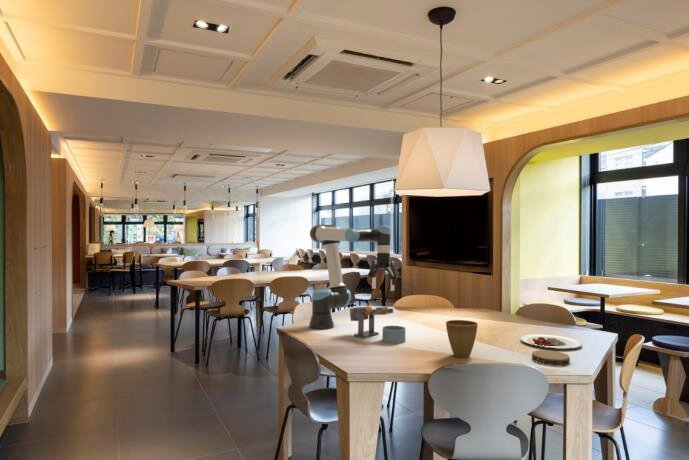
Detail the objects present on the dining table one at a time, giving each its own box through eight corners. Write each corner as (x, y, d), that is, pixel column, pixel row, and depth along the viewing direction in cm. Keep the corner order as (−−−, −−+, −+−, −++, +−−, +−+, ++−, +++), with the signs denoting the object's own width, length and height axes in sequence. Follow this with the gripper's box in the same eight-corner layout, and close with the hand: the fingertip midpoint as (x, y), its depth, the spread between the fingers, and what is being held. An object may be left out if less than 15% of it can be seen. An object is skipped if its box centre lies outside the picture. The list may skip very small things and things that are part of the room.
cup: (378, 341, 247) (378, 328, 247) (391, 337, 256) (391, 324, 256) (397, 344, 239) (397, 331, 239) (409, 340, 248) (409, 327, 248)
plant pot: (482, 355, 219) (483, 322, 219) (468, 361, 208) (468, 327, 208) (454, 349, 229) (455, 318, 229) (439, 355, 218) (440, 322, 218)
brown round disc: (547, 354, 222) (547, 348, 222) (577, 363, 208) (577, 356, 208) (524, 359, 215) (524, 352, 215) (554, 368, 201) (554, 361, 201)
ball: (364, 313, 258) (363, 306, 259) (368, 312, 261) (367, 305, 262) (369, 313, 256) (369, 305, 256) (374, 312, 259) (373, 305, 259)
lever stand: (353, 336, 257) (353, 312, 257) (367, 332, 267) (367, 309, 267) (364, 338, 252) (365, 314, 252) (378, 334, 262) (378, 311, 262)
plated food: (583, 342, 249) (583, 335, 249) (580, 354, 223) (580, 347, 223) (525, 335, 264) (525, 329, 264) (515, 346, 238) (516, 340, 238)
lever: (350, 320, 262) (349, 308, 263) (365, 317, 273) (364, 305, 274) (386, 320, 246) (384, 307, 247) (400, 316, 257) (399, 304, 258)
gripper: (362, 251, 266) (362, 288, 266) (398, 253, 251) (397, 292, 251) (370, 251, 272) (369, 287, 272) (405, 253, 257) (404, 291, 257)
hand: (382, 289), depth 261 cm, fingers open, 12 cm apart
